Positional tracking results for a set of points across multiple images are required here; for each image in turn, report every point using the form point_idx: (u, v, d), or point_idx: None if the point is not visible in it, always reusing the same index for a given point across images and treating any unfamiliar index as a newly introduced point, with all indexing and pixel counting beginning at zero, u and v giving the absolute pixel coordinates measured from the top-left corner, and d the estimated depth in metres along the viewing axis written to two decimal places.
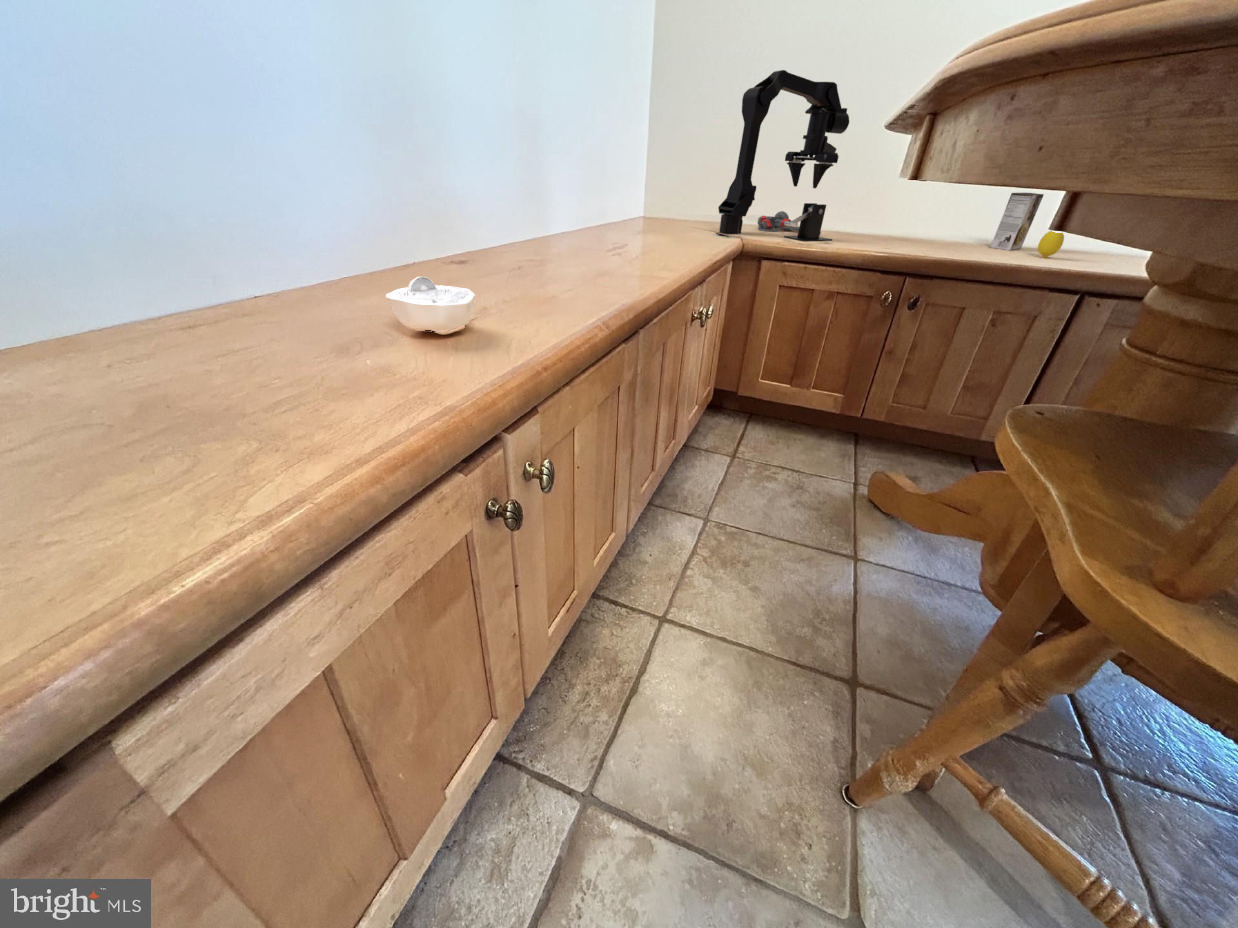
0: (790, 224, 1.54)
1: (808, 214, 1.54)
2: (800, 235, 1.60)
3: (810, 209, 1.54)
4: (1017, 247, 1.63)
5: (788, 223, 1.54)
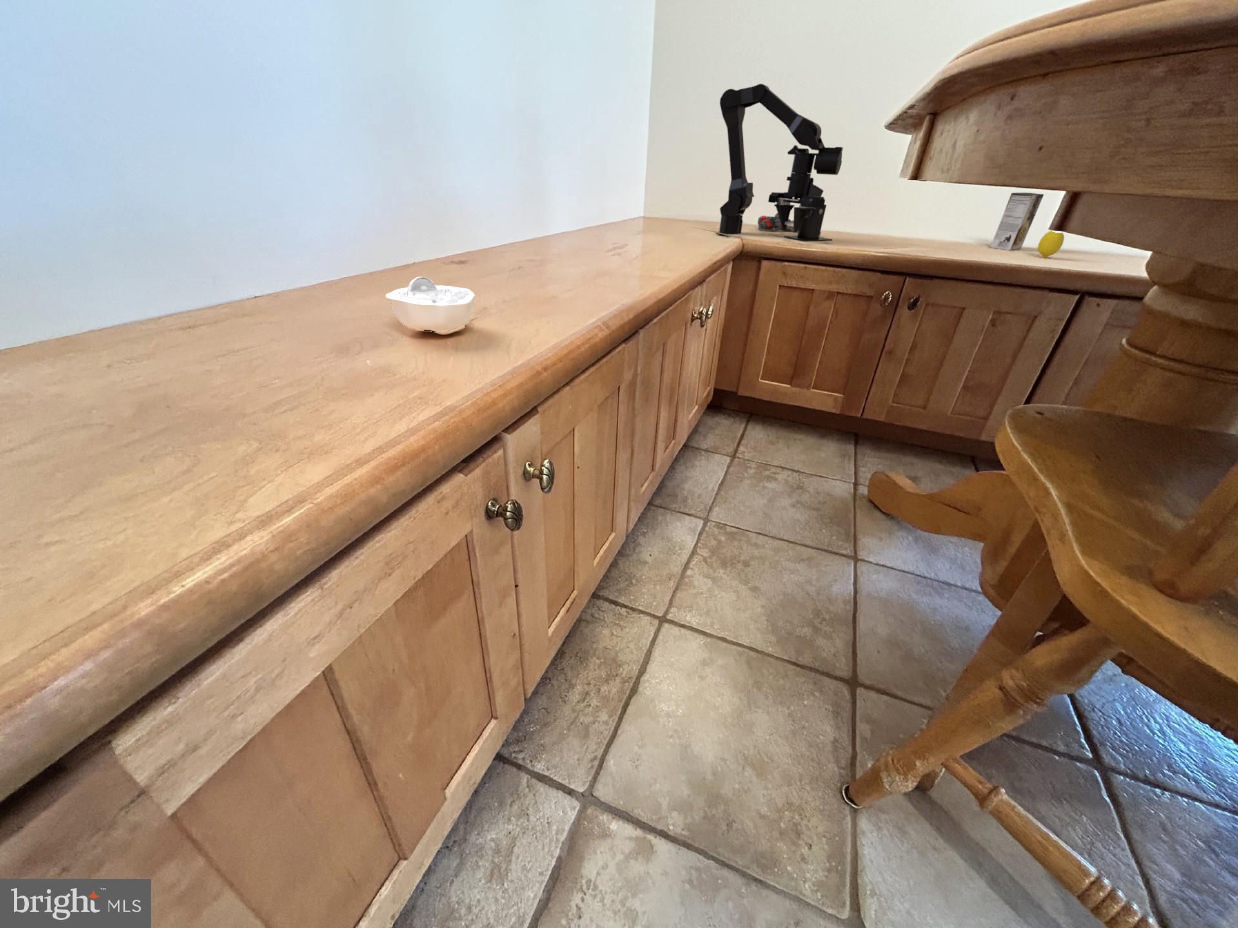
0: (790, 224, 1.54)
1: (808, 214, 1.54)
2: (800, 235, 1.60)
3: None
4: (1017, 247, 1.63)
5: (788, 223, 1.54)
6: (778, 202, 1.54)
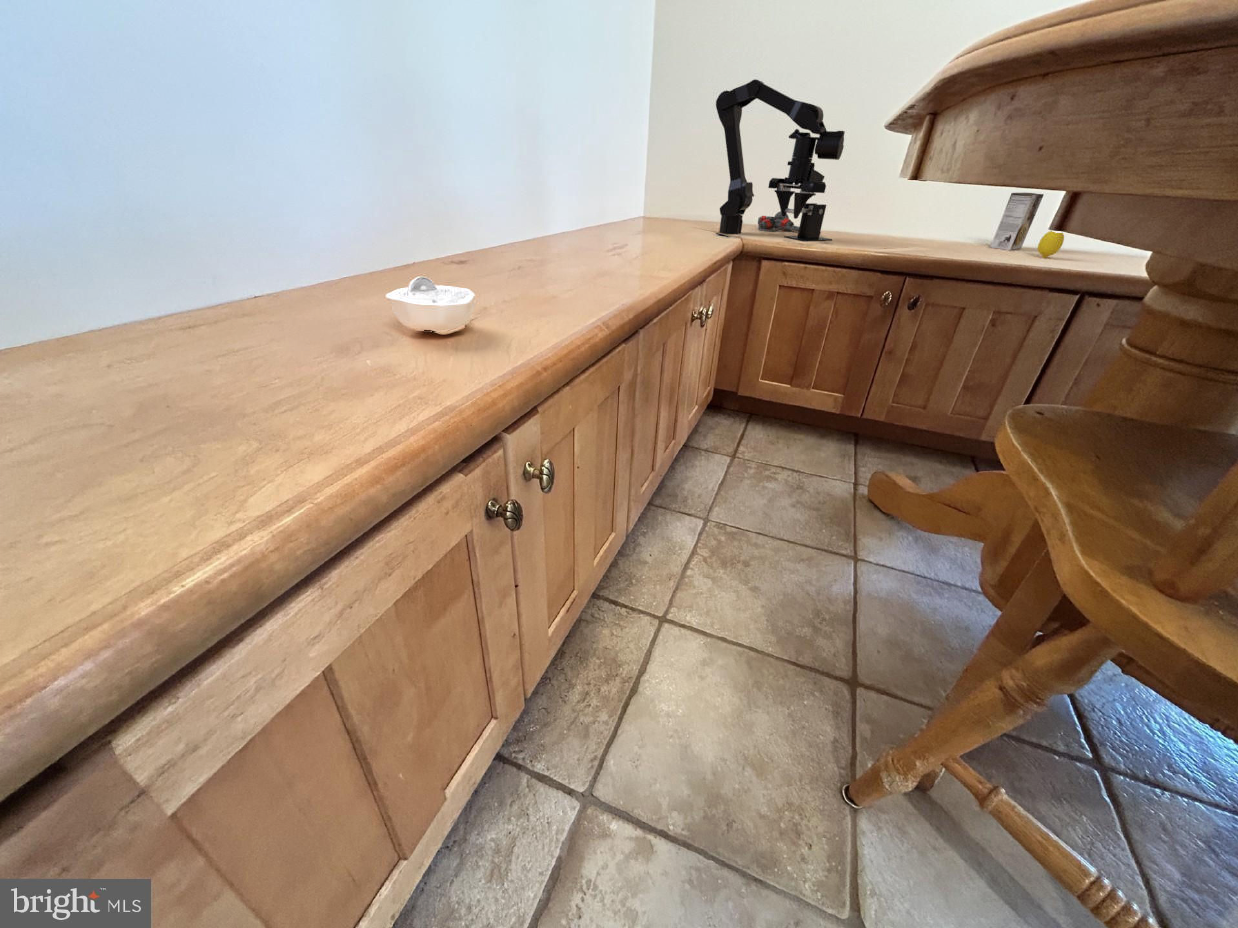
0: (791, 210, 1.51)
1: (808, 210, 1.54)
2: (800, 235, 1.60)
3: (811, 207, 1.54)
4: (1017, 247, 1.63)
5: (789, 209, 1.52)
6: (778, 188, 1.52)
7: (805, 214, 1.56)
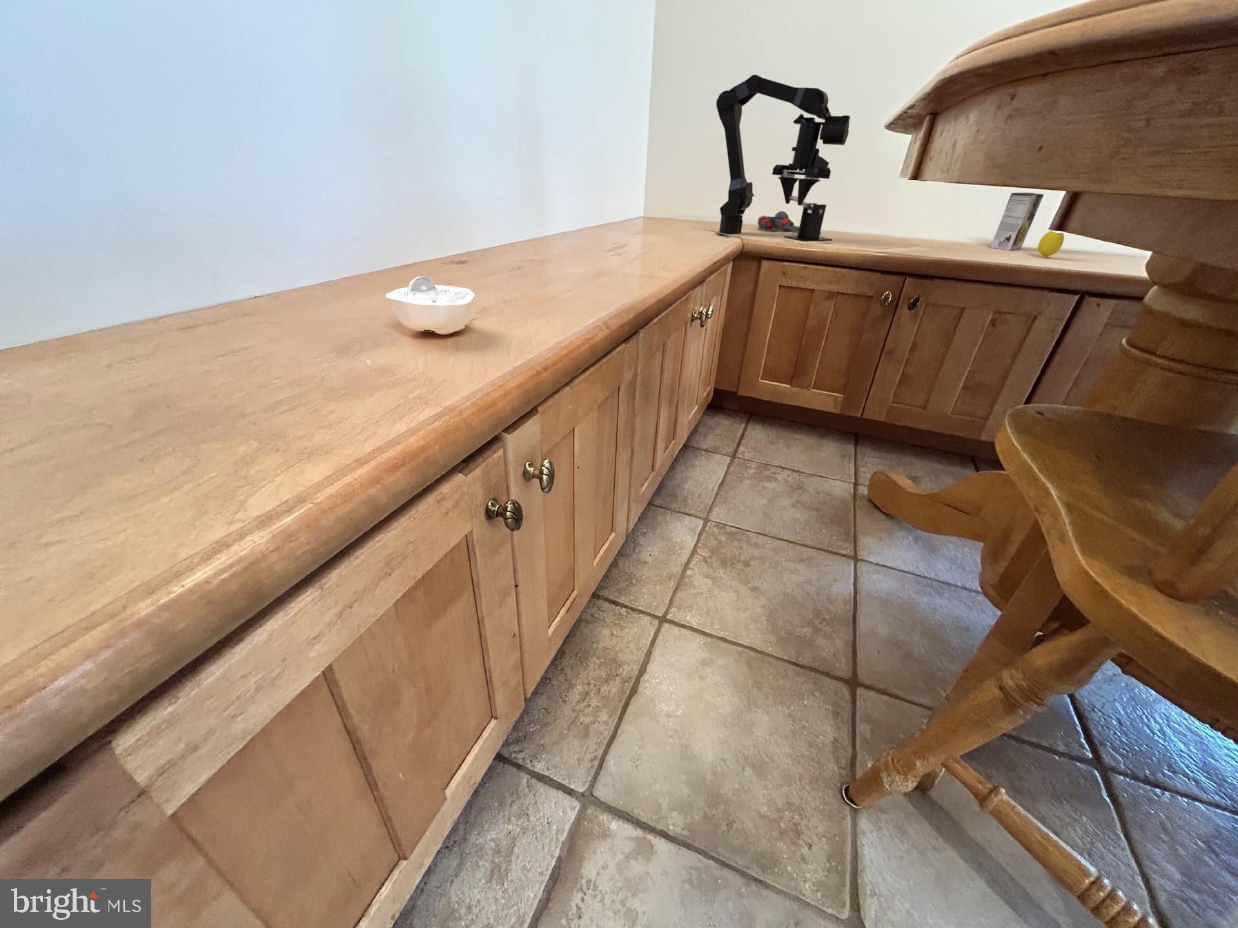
0: (795, 197, 1.50)
1: (809, 207, 1.53)
2: (800, 235, 1.60)
3: None
4: (1017, 247, 1.63)
5: (793, 196, 1.50)
6: (782, 174, 1.50)
7: (805, 214, 1.56)
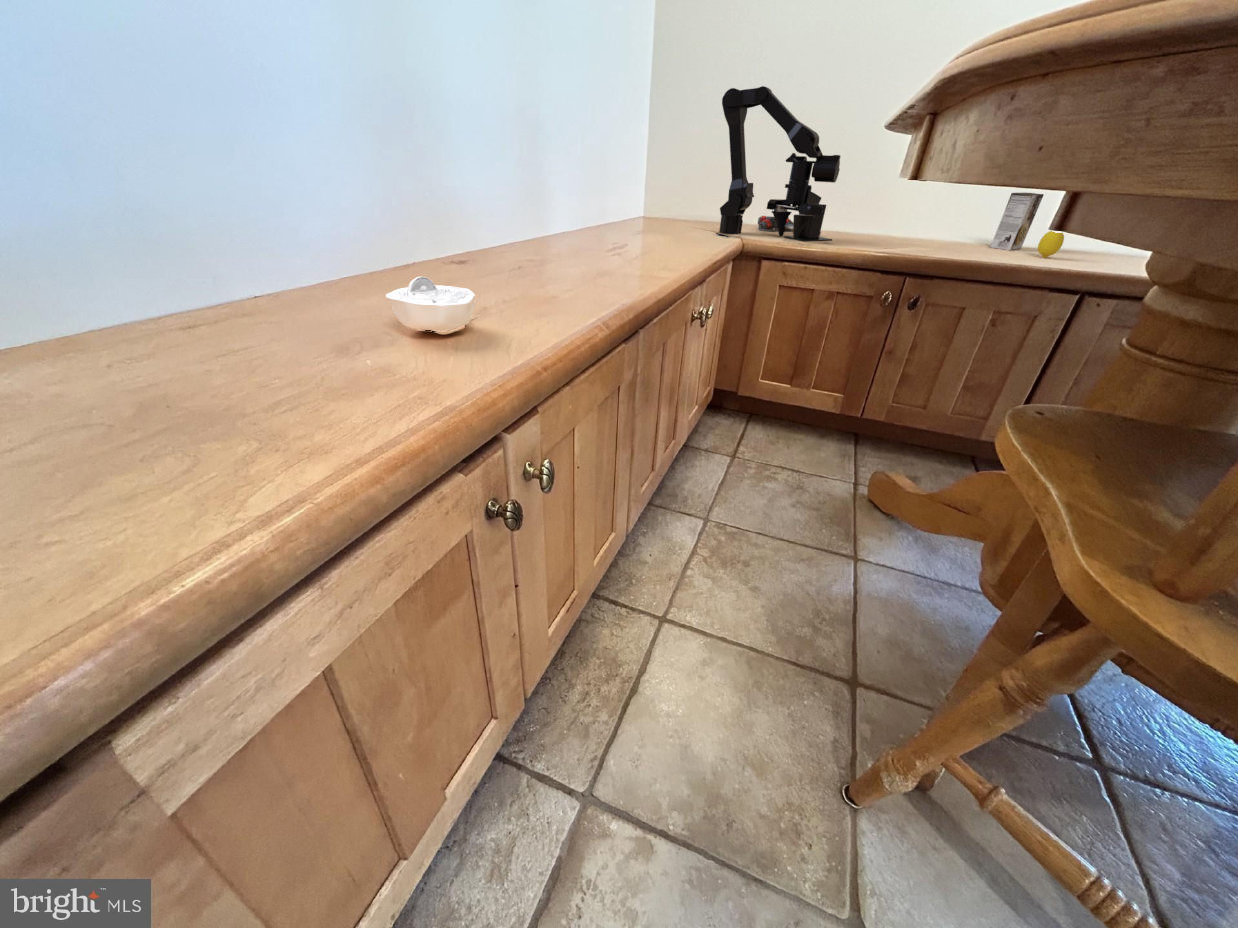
0: (790, 227, 1.54)
1: None
2: (800, 235, 1.60)
3: None
4: (1017, 247, 1.63)
5: (788, 226, 1.55)
6: (775, 209, 1.56)
7: None
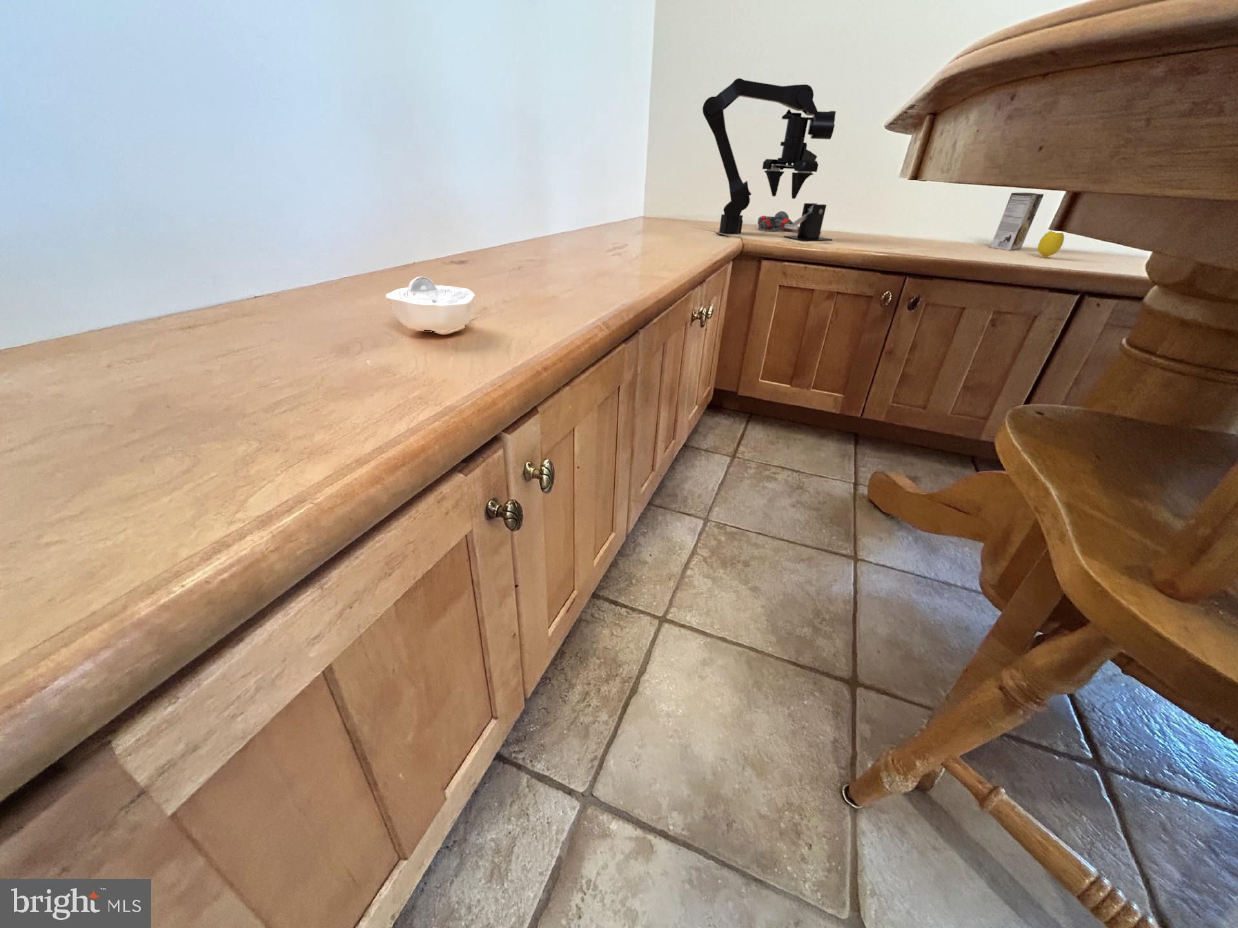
0: (790, 227, 1.54)
1: (808, 215, 1.55)
2: (800, 235, 1.60)
3: (810, 210, 1.54)
4: (1017, 247, 1.63)
5: (788, 226, 1.55)
6: None
7: None
